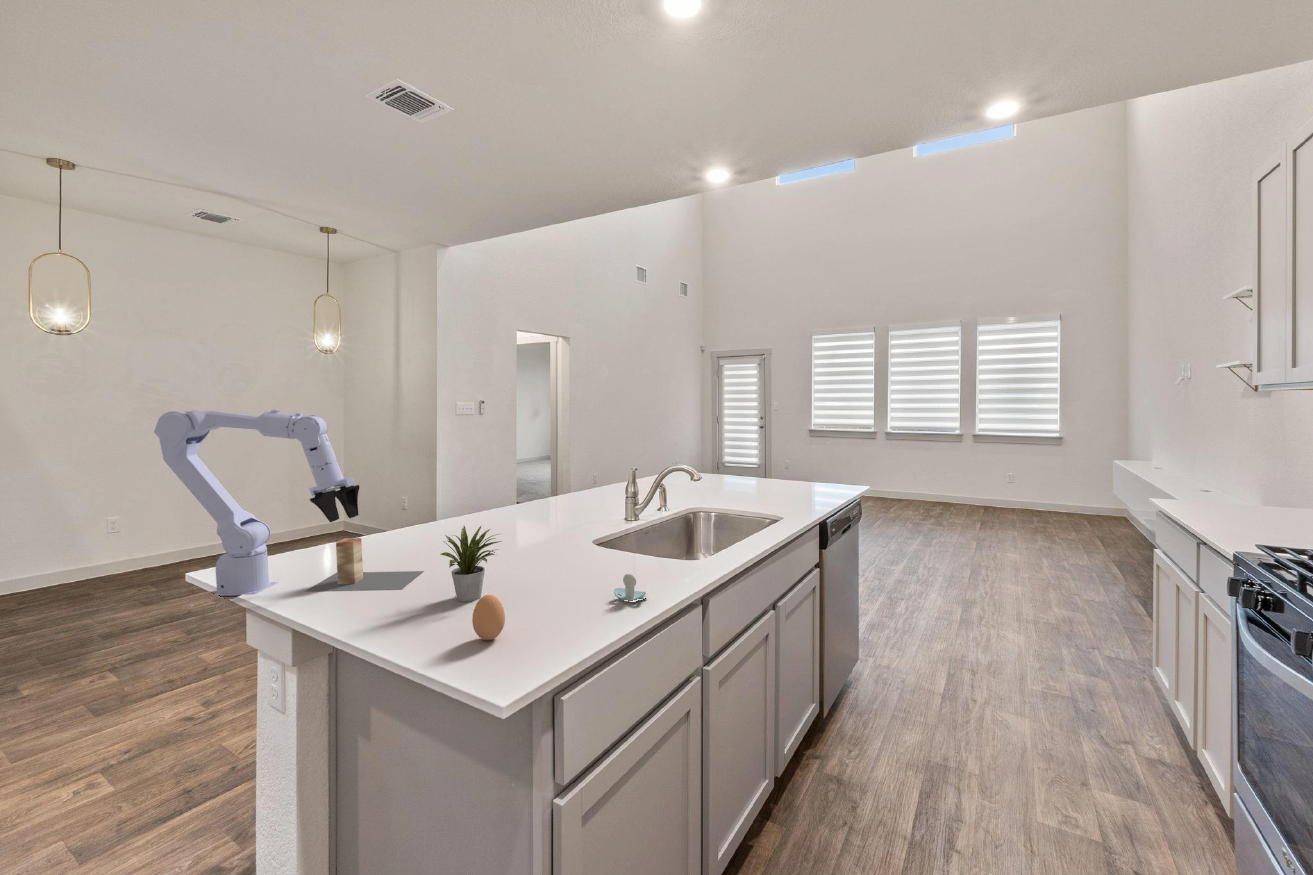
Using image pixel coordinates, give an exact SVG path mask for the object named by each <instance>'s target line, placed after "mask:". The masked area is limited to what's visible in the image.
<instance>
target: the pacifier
mask: <svg viewBox="0 0 1313 875" xmlns="http://www.w3.org/2000/svg"><path fill="white" fill-rule="evenodd" d="M622 582H623V584H624V586H625V587H615V588H614V589H613V594H614V596H615V598H618V599H620V600H622V601H623V600H628V601H633V600H637V599H644V597H647V598H648V595H646V594H647V591H637V590H635V587H636V585H637V579H636V578H635V576H634V575H633V574H631V573H626V574H624V575H623V578H622ZM645 595H646V596H645Z"/></svg>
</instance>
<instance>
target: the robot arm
mask: <svg viewBox="0 0 1313 875" xmlns="http://www.w3.org/2000/svg"><path fill="white" fill-rule="evenodd" d="M328 426H329V425H328V423H327V421H326V420H325V419H324V418H323V417H320V416H317V415H314V414H311V415H307V416H304V414H303V413H301V412H296V413H295V414H294V413H285V412H284V413H283V412H281V411H280V409H271V411H264V412H263V413H262V414H260V415H254V414H253V415H252V414H245V413H238V412H230V411H226V410H191V411H189V410H187V411H178V410H177V411H174V410H172V411H167V412H165V413H163V414H162V415H161V416H159V418H158V420H157V422H156V425H155V427H154V431H153V433H154V434H155V435H156V436H157V438H158V439H159V443H160V449H161V455H162V458H163V459H162V460H164V463H166V465H167V466H168V467H169V468H170V469H171V471H172V472H173V473H174V474H175V475H176V476H177V478H178V479H179V480H180V481H181V482H182V484H183V485H184V486H185V487H186V489H188V490H189V492H190V494H192V495H193V497H195V499H196V500H197V501H198V502H199V503H200V504H201V506H202V507H203V508H204V509H205V510H206V512H208V514H209V515H210V516H211V518H212V519H213V520H214V521H215V522H216V524H217V526H216V535H217V536H219V538H220V540H221V544H222V547H223V549H224V551H225V552H226V553H224V554H222V555H220V556H219V557H218V560H217V561H216V563H215V580H216V593H214V596H215V597H220V596H221V597H222V596H223V597H224V596H225V597H226V596H229V597H233V596H242V595H257V594H259V593H262V592H263V591H265V590H268V589H269V588H271V587H273V586H275V585H277V584H278V581H270V578H269V577H270V576H269V561H268V547H267V543H268V542H269V540H270V539H271V538H272V537H271V536H272V529H271V528H270V526H269V525H268V523H266V522H264V521H262V520H260V519H258V517H256V516H255V515H254V514H253V513H251V512H250V511H247V510H245V509H243V508H242V507H241V506H240V504H238V502H237V501H236V500H235V498H234V497H233V496H232V495H231V494H230V493H229V492H228V490H227V489H226V488H225V486H224V485H222V483H221V482H220V481H219V479H218V478H217V477H216V476H215V474H213V473H212V471H211V470H210V469H209V467H208V466H207V465H206V464H205V463H204V462H203V461H202V459H201V458H200V457H199V456H198V452H199V450H200V447H201V444H202V443H203V442H204V441H205V439H206V438H207V437H208V435H209V434H210V433H211V431H214V430H217V429H220V428H234V429H242V430H243V429H244V430H245V429H246V430H255V431H258V432H259V433H260V434H261V435H262V436H264V437H270V438H279V439H280V438H281V439H290V440H298V441H299V442H300V443H301V447H302V449H303V452H304V456H305V458H306V460H307V464H308V466H309V468H310V471H311V473H312V476H313V479H314V482H315V484H316V486H312V487H310V488H309V492H310V494H311V496H312V497H311V498H310V499H309V501H310V502H311V503H313V504H314V505H315V506H316V507H317V508H318V509H319V510H320V511H321V512H322V514H323V515H324V516H325V517H326V519H327V520H328V521H329V523H332V522H333V523H334V522H336V521H339V519H340V514H339V511H338V510H339V509H338V507H337V502H336V499H337V500H338V502H339V503H340V504H341V506H342V508H343V509H344V512H345V514H346V516H347V517H348V519H352V518H355V517H357V516H359V505H358V503H359V502H358V501H359V499H358V496H359V491H360V488H361V487H360V484H356V483H357V482H356V481H355V479H354V476H351V477H349V476H348V477H347V476H346V477H344V474H343V472H342V471H341V468H340V465H339V462H338V459H337V456H336V453H335V450H334V448H333V446H332V443H331V442H330V439H329V435H328V434H327V433H328V431H329V427H328ZM219 595H220V596H219Z"/></svg>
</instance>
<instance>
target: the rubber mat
mask: <svg viewBox="0 0 1313 875" xmlns="http://www.w3.org/2000/svg"><path fill="white" fill-rule="evenodd" d="M424 572H425V570H415V571H414V570H413V571H410V570H409V571H407V570H406V571H367V572H366V571H363V579H361V580H360V581H358V582H357V583H355V584H338V576H337V572H335V573H333V574H332V575H330V576H328V577H327V578H325V579H323V580H322V581H320V582H318V583H317V584H314V585H313V586H311V587H309V588H308V589H305V590H304V591H303V592H304V593H307V592H308V593H309V592H311V593H313V592H314V593H315V592H353V591H354V592H359V591H362V592H363V591H367V592H368V591H401V590H404V589H405V588H406V587H407V586H408V585H410V584H411V583H412V582H413V581H414V580H416V579H417V578H418V577H419V576H421V575H422V574H423V573H424Z"/></svg>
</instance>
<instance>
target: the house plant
mask: <svg viewBox="0 0 1313 875" xmlns="http://www.w3.org/2000/svg"><path fill="white" fill-rule="evenodd" d="M481 529H482V524H481V525H480V526H479V528H477V530H476V531H475V533H474V534H473V536H472V537H471V539H470V541H469V536H468V534H467V529H466V526H465V525H463V528H461V531H460V537H459V536H458V535H454V534H453V536H454V537H456V538H457V539H458V541H459V543H460V546H459V545H458V544H457V542H456V541H454V539H453V538H451V537H450V536H448V535H446V534H444V536H445V537H446V539H447V542H448V543H449V544H451V545H452V546H453V547H454V548H452V547H451V546H450V545H449V544H448V543H447V542H446V540H445V541H444V540H443V541H442V542H443V543H444V544H446V545H447V546H448V547H449V548H450V549H451V550H452V551H453V552H454V553H455V555H456V556H457V557H456V556H455V555H454V554H453V553H451V552H447V551H445V552H444V551H443V552H442V553H440V554H439V555H441V556H445V557H448V558H450V560H449V563H448V567H449V568H448V569H450V568H451V567H453V566H455V565H457V566H458V567H456V568H454V569H452V570H451V576H452V580H453V585H454V590H455V596H456V601H459V602H467V603H468V602H473V601H477V600H480V599H481V598H482V593H483V584H484V578H485V571H486V568H485V567H484V566H481V565H480V563H481V562H482V561H484V562H485V563H486V564H487V565H488V559H487V557H490V556H496V551H498V550H499V548H498V549H497V548H495V549H492V550H489V549H488V550H483V549H485V548H486V547H489V546H491V545H494V544H498V543H501V542H503V540H499V541H491V542H490V540H495V539H496V540H497V537H495V536H499V535H500V533H497V534H493V535H490V536H489V537H487V538H485V537H486V535H487V533H488V532H489V531H491V528H489V529H487V530H485V531H484V532H483V533H482V534H481V535H480V536H479V537H478V535H479V532H480V531H481ZM501 535H503V533H501ZM454 549H455V550H454ZM482 550H483V551H482ZM480 551H481V552H480Z"/></svg>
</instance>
